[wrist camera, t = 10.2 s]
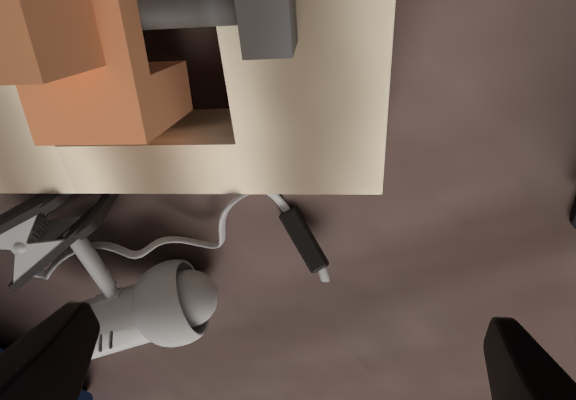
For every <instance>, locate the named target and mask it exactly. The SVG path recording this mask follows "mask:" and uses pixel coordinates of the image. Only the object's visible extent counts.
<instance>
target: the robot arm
mask: <svg viewBox="0 0 576 400" xmlns="http://www.w3.org/2000/svg"><path fill="white" fill-rule="evenodd" d="M575 201H576V197H575ZM569 221H570V223H571V224H572V226H573V227H574V228H575V229H576V202H575V205H574V207H573V210H572V212H571V215H570V217H569ZM99 333H100V323H99V321H98V319H97V317H96V315H95V313H94V311H93V310H92V308H91V306H90V304H89V303H88V302H85V301H70V302H68V303H66V304H65V305H63V306H62V307H61V308H59V309H58V310H57V311H55V312H54V313H53V314H51V315H50V316H49V317H47V318H46V319H45V320H44V321H42V322H41V323H40V324H38V325H37V326H36V327H34V328H33V329H32V330H30V331H29V332H28V333H26V334H25V335H24V336H22V337H21V338H20V339H18V340H17V341H16V342H14V343H13V344H12V345H10V346H9V347H8V348H7V349H5V350H4V351H3V352H1V353H0V400H78V398H79V395H80V392H81V389H82V387H83V384H84V380H85V377H86V374H87V371H88V368H89V365H90V361H91V358H92V355H93V352H94V349H95V346H96V343H97V339H98V336H99ZM484 355H485V361H486V367H487V372H488V378H489V384H490V390H491V396H492V400H576V383H575V382H574V381H573V380H572V378H571V377H570V376H569V375H568V374H567V373H566V372H565V371H564V370H563V369H562V368H561V367H560V366H559V365H558V364H557V363H556V362H555V361H554V360H553V358H552V357H551V356H550V355H549V354H548V353H547V352H546V351H545V350H544V349H543V348H542V347H541V346H540V345H539V344H538V343H537V342H536V341H535V340H534V338H533V337H532V336H531V335H530V334H529V333H528V332H527V331H526V330H525V329H524V328H523V327H522V326H521V325H520V324H519V323H518V322H517V321H516V320H515V319H513V318H510V317H493V318H492V319H491V321H490V323H489V326H488V329H487V333H486V336H485V339H484Z"/></svg>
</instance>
